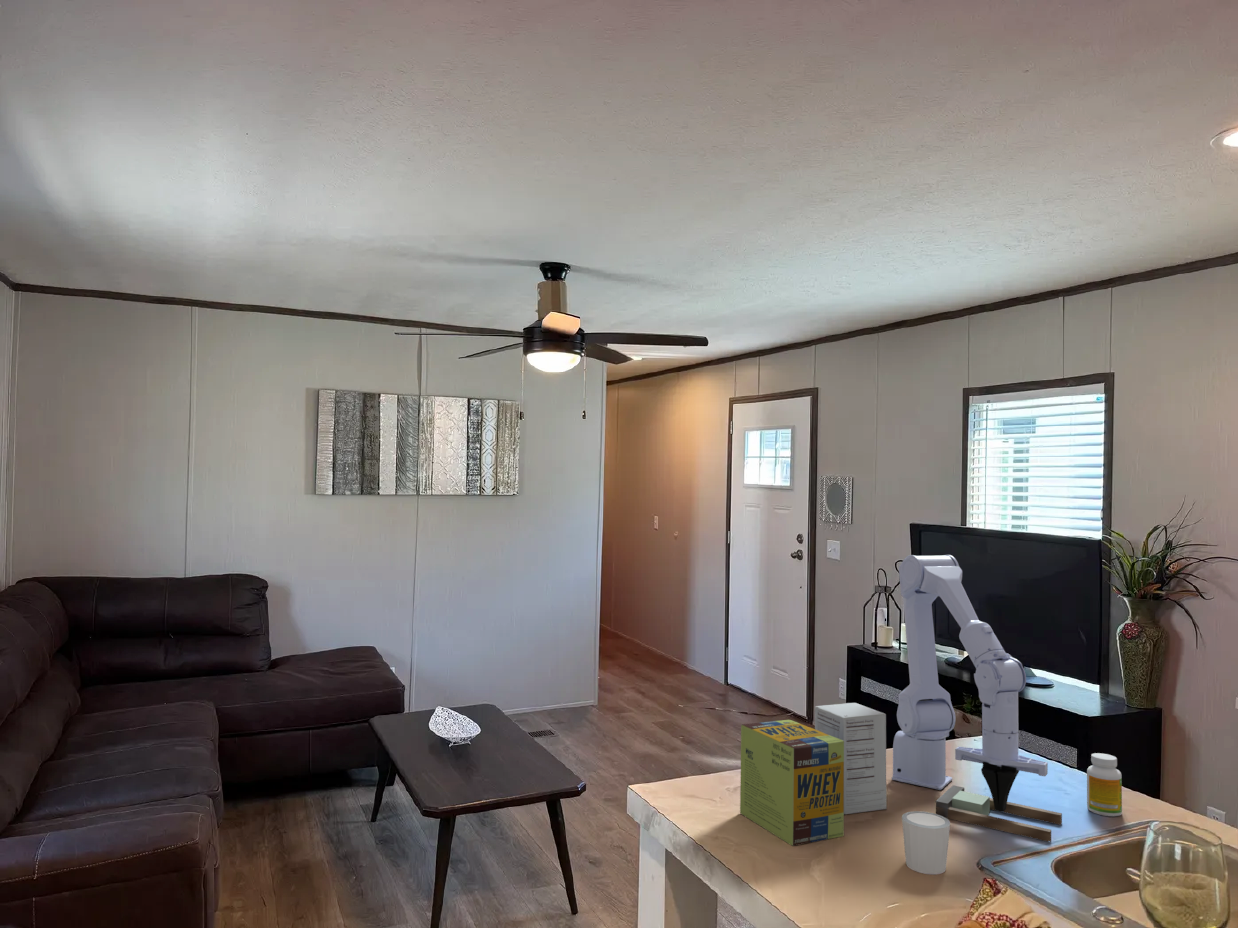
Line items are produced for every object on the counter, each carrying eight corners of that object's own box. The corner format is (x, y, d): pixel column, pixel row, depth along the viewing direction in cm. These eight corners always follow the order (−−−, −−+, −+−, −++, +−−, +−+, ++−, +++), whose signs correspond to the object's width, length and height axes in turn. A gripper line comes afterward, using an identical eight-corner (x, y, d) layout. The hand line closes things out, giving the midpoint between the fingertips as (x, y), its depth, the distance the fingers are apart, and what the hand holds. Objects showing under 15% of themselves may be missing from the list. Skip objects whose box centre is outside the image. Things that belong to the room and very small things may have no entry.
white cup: (894, 856, 131) (894, 810, 131) (937, 855, 131) (937, 809, 132) (913, 876, 124) (913, 827, 124) (958, 875, 124) (958, 827, 125)
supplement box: (888, 809, 150) (888, 713, 151) (844, 815, 147) (844, 717, 148) (855, 791, 159) (855, 701, 160) (813, 797, 156) (813, 704, 157)
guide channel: (935, 815, 148) (935, 800, 148) (953, 798, 156) (953, 785, 156) (1049, 841, 137) (1049, 826, 137) (1061, 822, 145) (1061, 807, 146)
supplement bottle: (1127, 818, 148) (1126, 761, 148) (1093, 815, 149) (1092, 759, 149) (1115, 807, 153) (1115, 752, 154) (1082, 804, 154) (1082, 750, 155)
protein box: (793, 847, 134) (793, 747, 134) (738, 813, 148) (739, 723, 148) (845, 836, 138) (846, 740, 139) (788, 805, 152) (788, 717, 153)
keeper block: (952, 815, 149) (952, 798, 149) (960, 807, 153) (960, 790, 153) (982, 822, 146) (982, 804, 146) (989, 813, 150) (989, 796, 150)
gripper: (950, 726, 148) (950, 805, 148) (1041, 742, 139) (1041, 826, 139) (961, 718, 154) (961, 795, 153) (1049, 733, 145) (1050, 813, 145)
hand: (1000, 809), depth 147 cm, fingers closed
